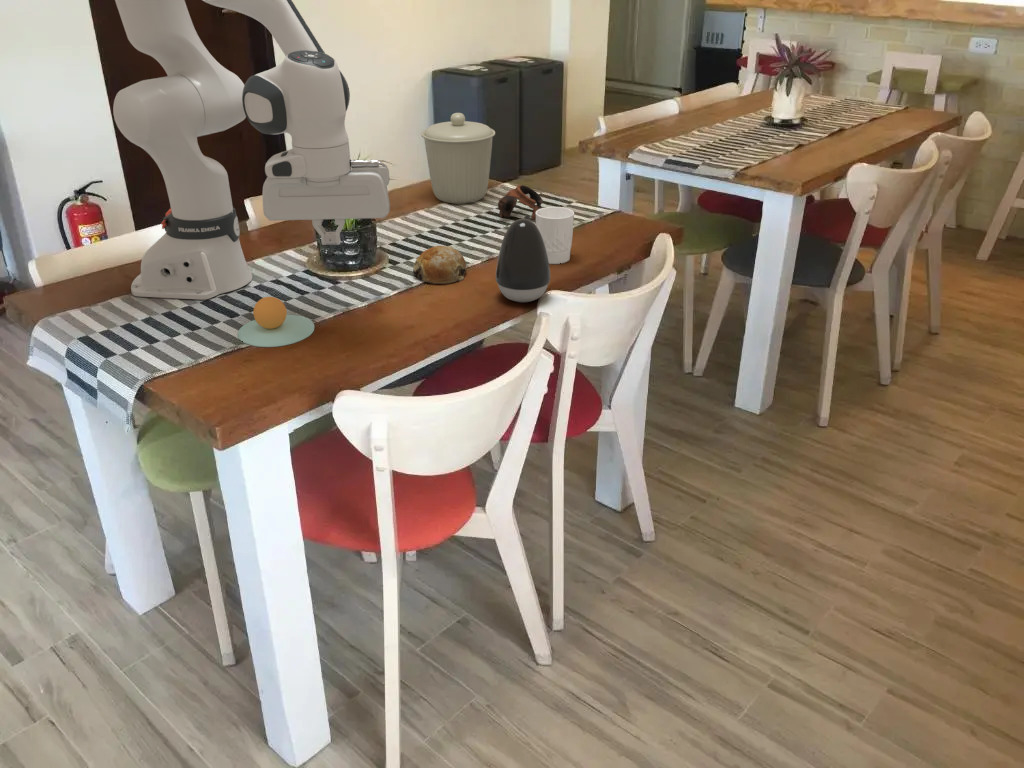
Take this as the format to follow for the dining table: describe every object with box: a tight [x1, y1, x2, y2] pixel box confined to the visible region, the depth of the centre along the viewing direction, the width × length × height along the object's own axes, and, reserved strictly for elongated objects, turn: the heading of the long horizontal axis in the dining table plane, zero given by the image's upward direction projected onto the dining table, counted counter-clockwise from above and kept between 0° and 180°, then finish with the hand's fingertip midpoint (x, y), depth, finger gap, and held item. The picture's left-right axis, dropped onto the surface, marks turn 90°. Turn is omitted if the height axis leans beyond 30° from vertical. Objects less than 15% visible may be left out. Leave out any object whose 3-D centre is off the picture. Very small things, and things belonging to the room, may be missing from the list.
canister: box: [420, 112, 496, 205], centre depth 217 cm, size 18×18×21 cm
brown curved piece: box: [497, 184, 544, 220], centre depth 208 cm, size 12×10×8 cm
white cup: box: [535, 206, 575, 265], centre depth 182 cm, size 8×8×10 cm
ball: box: [252, 296, 288, 329], centre depth 153 cm, size 6×6×6 cm
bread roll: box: [412, 245, 467, 285], centre depth 175 cm, size 10×10×8 cm
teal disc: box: [237, 314, 315, 348], centre depth 153 cm, size 13×13×1 cm
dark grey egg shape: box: [495, 214, 551, 303], centre depth 162 cm, size 10×10×15 cm
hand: (331, 243), depth 146 cm, fingers closed
